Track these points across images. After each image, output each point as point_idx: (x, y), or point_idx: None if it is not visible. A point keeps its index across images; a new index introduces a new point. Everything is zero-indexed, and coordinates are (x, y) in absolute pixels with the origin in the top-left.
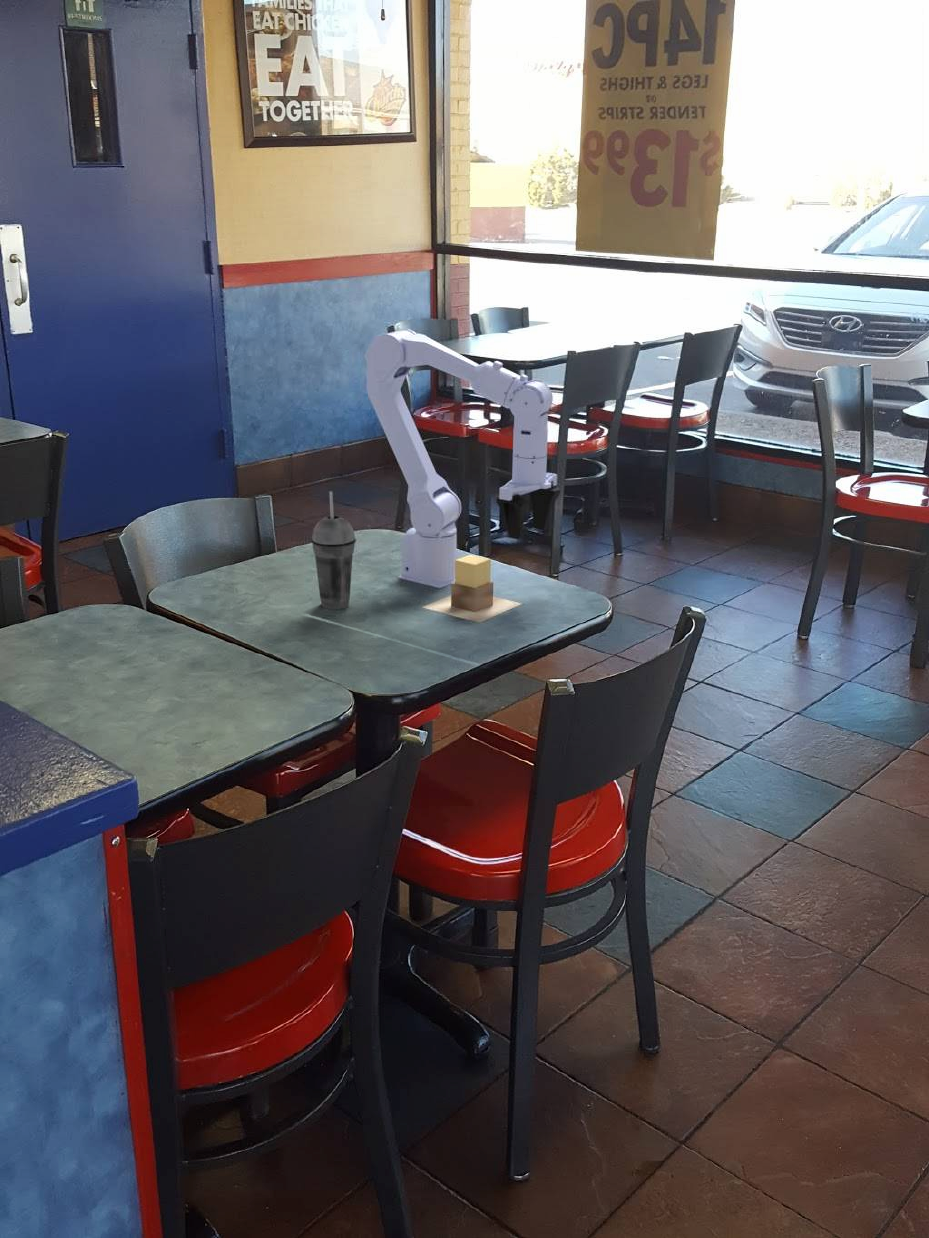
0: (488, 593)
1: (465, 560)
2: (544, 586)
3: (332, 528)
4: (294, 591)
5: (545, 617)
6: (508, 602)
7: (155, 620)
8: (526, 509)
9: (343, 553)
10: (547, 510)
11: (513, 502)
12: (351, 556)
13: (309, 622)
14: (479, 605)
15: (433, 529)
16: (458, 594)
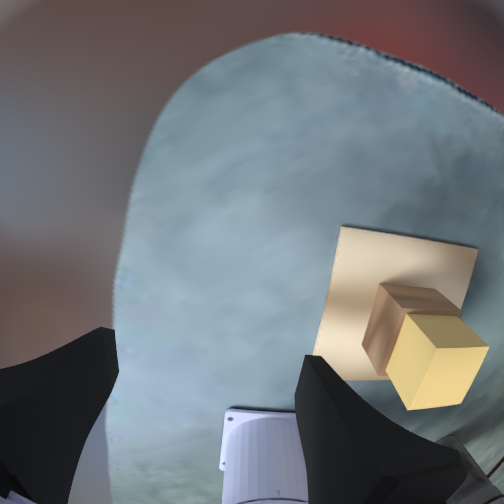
0: (408, 298)
1: (459, 386)
2: (163, 248)
3: None
4: None
5: (386, 139)
6: (350, 260)
7: None
8: (359, 444)
9: (494, 488)
10: (63, 372)
11: (448, 498)
12: (474, 489)
13: (490, 426)
14: (428, 292)
15: None
16: None
